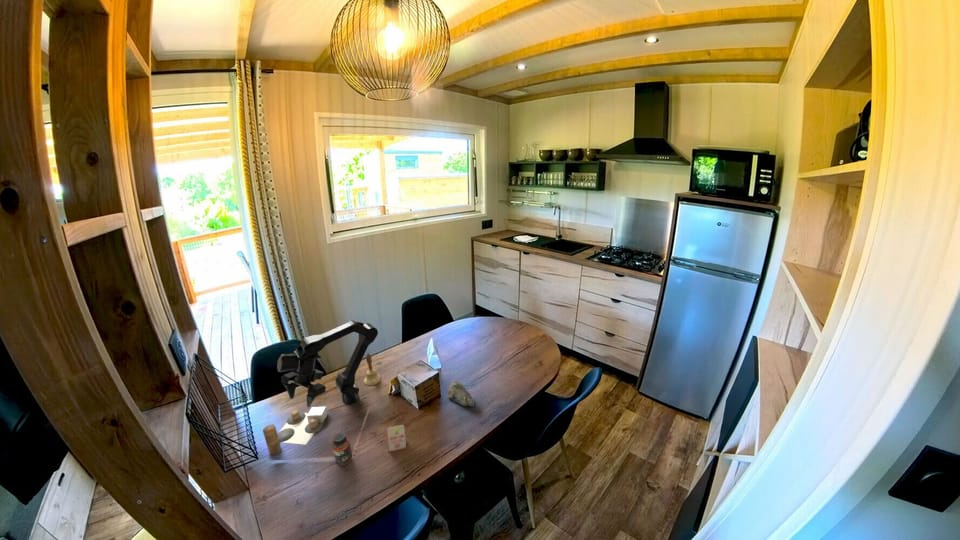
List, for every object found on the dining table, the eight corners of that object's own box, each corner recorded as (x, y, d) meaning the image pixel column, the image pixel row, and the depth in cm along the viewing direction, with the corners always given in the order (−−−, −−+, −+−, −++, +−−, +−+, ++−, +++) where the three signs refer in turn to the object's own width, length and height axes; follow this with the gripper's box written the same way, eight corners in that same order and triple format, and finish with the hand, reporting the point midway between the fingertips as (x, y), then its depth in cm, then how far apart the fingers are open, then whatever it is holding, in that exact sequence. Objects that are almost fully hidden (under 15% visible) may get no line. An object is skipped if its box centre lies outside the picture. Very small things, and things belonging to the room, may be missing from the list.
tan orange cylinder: (284, 449, 130) (277, 425, 126) (277, 457, 126) (270, 433, 122) (274, 448, 130) (268, 424, 126) (267, 456, 126) (260, 432, 122)
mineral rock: (475, 409, 149) (475, 391, 146) (452, 414, 146) (451, 396, 143) (468, 391, 161) (467, 373, 158) (446, 395, 158) (445, 378, 155)
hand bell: (377, 385, 165) (374, 358, 160) (361, 385, 165) (357, 358, 160) (382, 375, 173) (379, 348, 168) (367, 375, 173) (363, 348, 168)
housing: (327, 413, 146) (325, 406, 145) (323, 422, 141) (321, 415, 140) (313, 414, 146) (311, 407, 144) (308, 423, 141) (306, 415, 140)
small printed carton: (388, 444, 131) (385, 424, 128) (405, 440, 133) (403, 421, 130) (388, 452, 128) (385, 432, 125) (406, 448, 130) (404, 428, 126)
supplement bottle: (346, 450, 129) (342, 427, 125) (355, 457, 126) (351, 434, 122) (332, 461, 124) (327, 438, 121) (341, 469, 121) (337, 445, 117)
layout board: (331, 416, 146) (330, 409, 144) (309, 447, 130) (307, 439, 129) (294, 413, 148) (292, 406, 146) (268, 443, 132) (266, 435, 131)
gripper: (338, 369, 141) (332, 402, 143) (304, 355, 146) (299, 387, 148) (317, 378, 130) (311, 414, 132) (282, 362, 136) (277, 397, 138)
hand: (300, 402), depth 138 cm, fingers open, 9 cm apart
